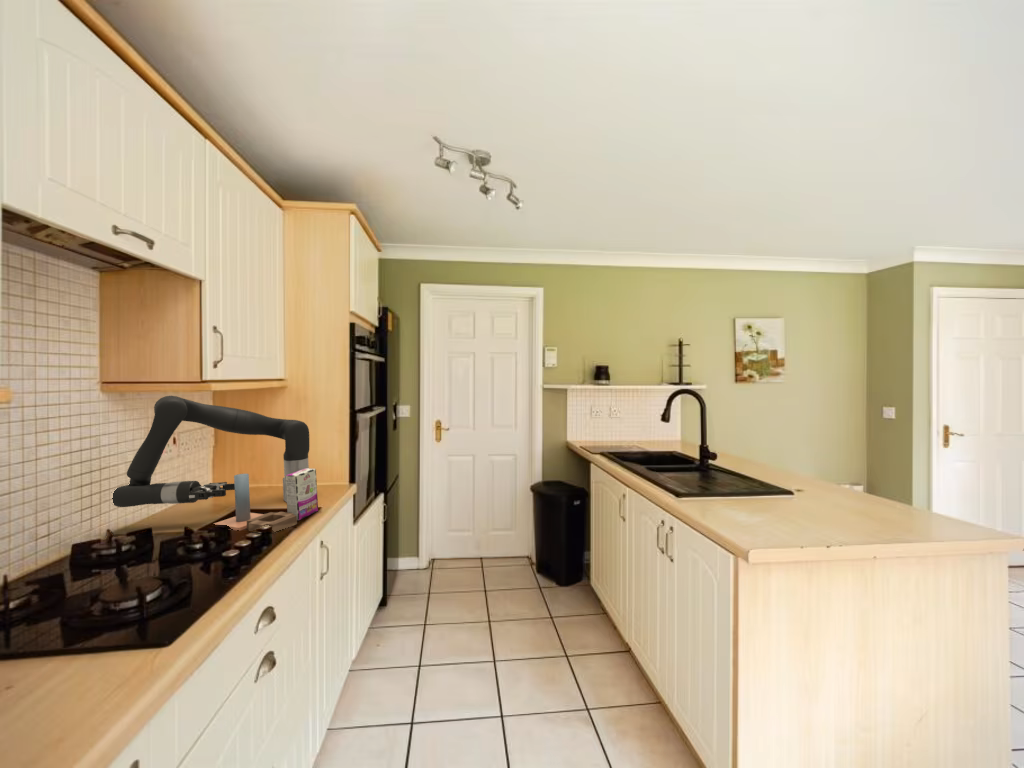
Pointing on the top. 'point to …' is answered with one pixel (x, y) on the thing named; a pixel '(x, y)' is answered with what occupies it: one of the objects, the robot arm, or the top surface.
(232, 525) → the terracotta tile
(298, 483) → the candy bar box
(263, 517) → the pocket block
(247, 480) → the slate peg
